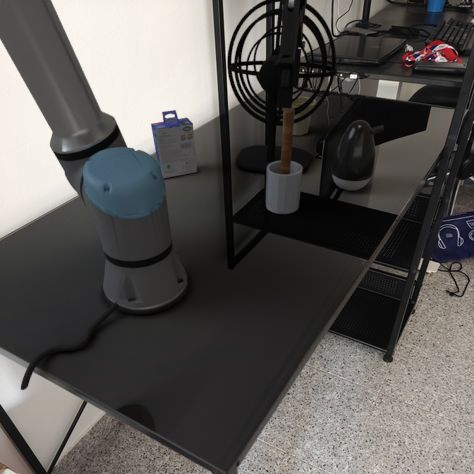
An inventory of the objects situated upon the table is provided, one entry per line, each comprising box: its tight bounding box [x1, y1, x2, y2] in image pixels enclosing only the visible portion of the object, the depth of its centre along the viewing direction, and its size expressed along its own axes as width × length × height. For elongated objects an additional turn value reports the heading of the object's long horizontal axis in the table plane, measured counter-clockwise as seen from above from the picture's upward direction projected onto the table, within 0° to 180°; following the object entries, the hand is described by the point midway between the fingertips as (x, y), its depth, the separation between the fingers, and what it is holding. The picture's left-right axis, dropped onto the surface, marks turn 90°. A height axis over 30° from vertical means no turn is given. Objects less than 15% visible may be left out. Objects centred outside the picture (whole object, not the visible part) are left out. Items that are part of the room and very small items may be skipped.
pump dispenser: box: [330, 119, 385, 192], centre depth 102 cm, size 10×10×15 cm
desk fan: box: [226, 0, 338, 173], centre depth 106 cm, size 27×18×35 cm, turn 75°
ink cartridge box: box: [150, 109, 198, 179], centre depth 110 cm, size 10×6×14 cm, turn 112°
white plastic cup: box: [265, 161, 303, 215], centre depth 98 cm, size 8×8×9 cm
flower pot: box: [285, 96, 317, 136], centre depth 130 cm, size 9×9×9 cm
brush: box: [280, 108, 295, 175], centre depth 94 cm, size 4×4×20 cm
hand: (288, 96), depth 84 cm, fingers open, 13 cm apart
